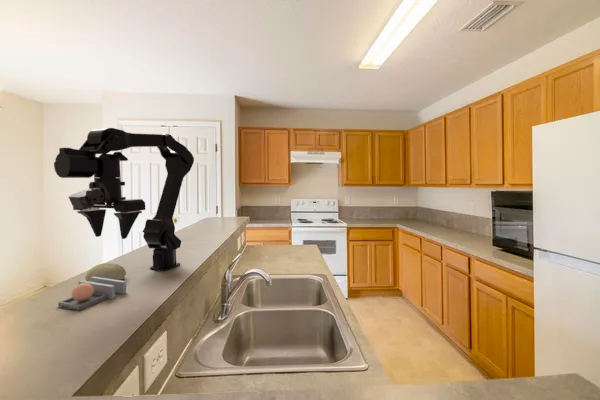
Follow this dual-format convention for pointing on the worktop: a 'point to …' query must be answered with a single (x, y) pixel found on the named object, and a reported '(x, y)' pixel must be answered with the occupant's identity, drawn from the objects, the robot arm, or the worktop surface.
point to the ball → (82, 292)
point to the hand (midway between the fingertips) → (110, 237)
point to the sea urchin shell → (106, 271)
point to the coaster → (78, 305)
